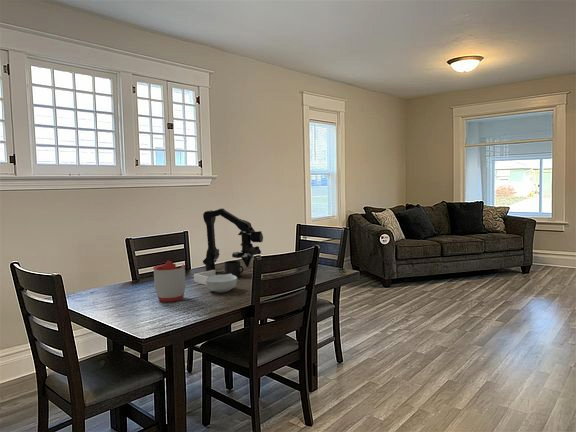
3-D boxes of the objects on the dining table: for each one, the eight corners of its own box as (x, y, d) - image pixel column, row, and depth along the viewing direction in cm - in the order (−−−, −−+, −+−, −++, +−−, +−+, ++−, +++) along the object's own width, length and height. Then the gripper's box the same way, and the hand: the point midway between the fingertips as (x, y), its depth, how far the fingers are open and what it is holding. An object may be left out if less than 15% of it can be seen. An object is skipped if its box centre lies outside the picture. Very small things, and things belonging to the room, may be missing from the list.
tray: (194, 281, 266) (193, 273, 266) (214, 277, 276) (214, 269, 275) (211, 286, 253) (210, 278, 252) (232, 281, 263) (231, 273, 262)
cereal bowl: (199, 293, 239) (198, 280, 238) (218, 285, 253) (217, 273, 253) (225, 296, 231) (225, 282, 230) (243, 288, 245) (243, 275, 245)
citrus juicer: (195, 296, 232) (193, 258, 230) (171, 305, 217) (168, 264, 216) (173, 293, 240) (171, 256, 238) (148, 301, 225) (145, 262, 224)
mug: (240, 278, 269) (239, 263, 268) (222, 278, 273) (221, 263, 272) (247, 275, 277) (246, 260, 277) (229, 274, 282) (228, 260, 281)
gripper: (242, 245, 268) (243, 271, 269) (266, 241, 281) (267, 266, 282) (231, 243, 276) (232, 268, 277) (254, 239, 289) (255, 264, 290)
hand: (247, 266), depth 282 cm, fingers closed
